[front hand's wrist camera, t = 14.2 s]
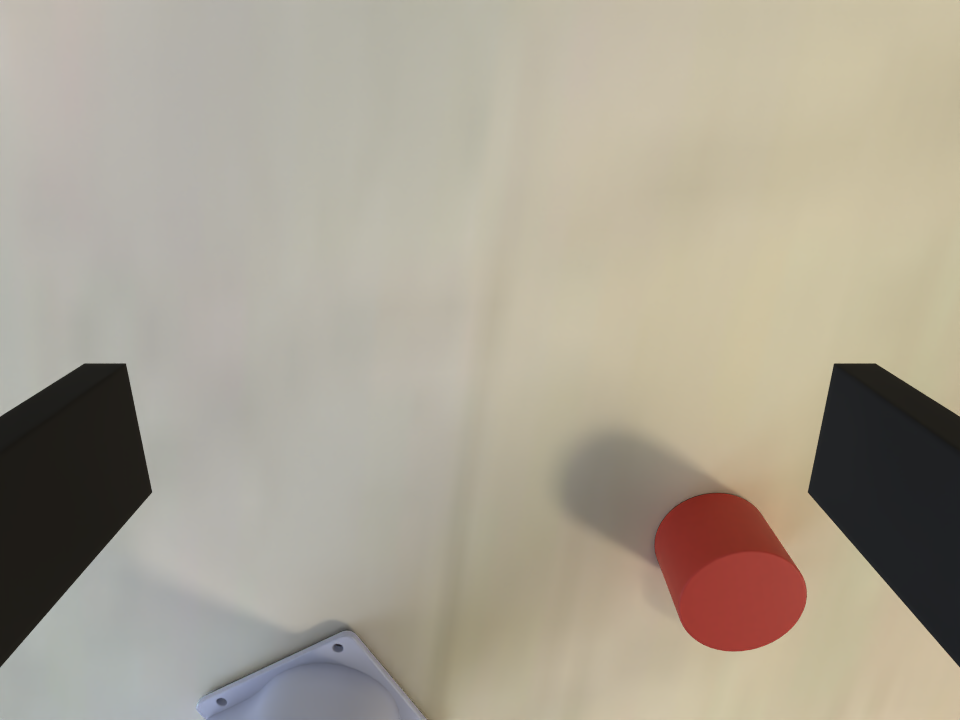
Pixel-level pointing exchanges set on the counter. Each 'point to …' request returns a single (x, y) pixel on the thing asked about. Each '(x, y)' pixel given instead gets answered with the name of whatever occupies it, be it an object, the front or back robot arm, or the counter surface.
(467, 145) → the counter surface
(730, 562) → the can
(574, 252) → the counter surface
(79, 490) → the front robot arm
